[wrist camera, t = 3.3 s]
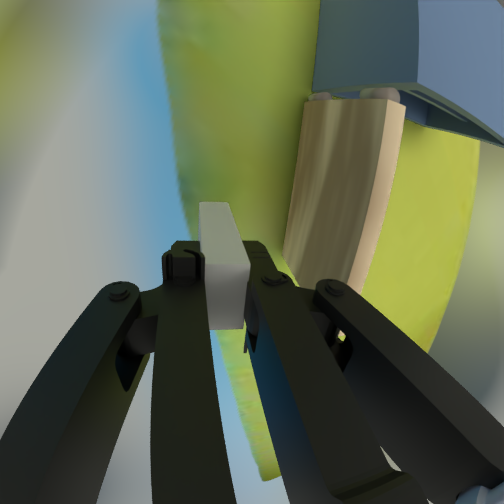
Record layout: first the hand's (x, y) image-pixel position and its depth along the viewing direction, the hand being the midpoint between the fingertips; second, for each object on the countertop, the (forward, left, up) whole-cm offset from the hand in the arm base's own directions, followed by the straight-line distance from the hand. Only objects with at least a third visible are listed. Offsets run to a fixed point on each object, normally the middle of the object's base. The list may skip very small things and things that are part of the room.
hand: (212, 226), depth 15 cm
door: (-1, +8, -8) cm, 11 cm away
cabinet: (-15, +15, -9) cm, 23 cm away
